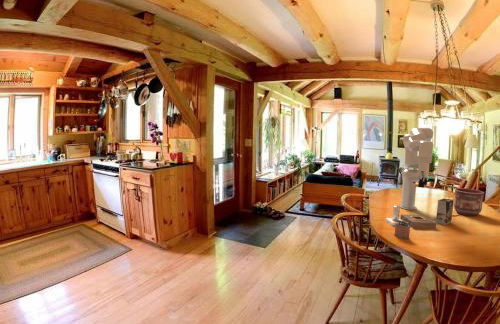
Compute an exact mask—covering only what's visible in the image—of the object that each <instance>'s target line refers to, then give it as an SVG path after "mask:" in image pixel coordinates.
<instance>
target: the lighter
mask: <svg viewBox="0 0 500 324" xmlns="http://www.w3.org/2000/svg"><path fill="white" fill-rule="evenodd" d="M397 222H399V223H395V226H394V237H397V238H399V239H404V238H405V239H406V240H410V230H411V227H410V226H409V225H408V222H405V221H401V220H397ZM400 223H401V224H400ZM405 239H404V240H405Z"/></svg>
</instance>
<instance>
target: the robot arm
mask: <svg viewBox="0 0 500 324" xmlns="http://www.w3.org/2000/svg"><path fill="white" fill-rule="evenodd" d="M433 136H434V130H433V128H431V127H415V128H411V130H410V131H409V133H407V134H404V135H403V138H402V143H403V146H404V151H405V154H404V155H405V156H404V164H405V167H406V168H409V169H404V170H403V171H402V174H401V176H402V186H401V187H402V188H401V189H402V190H401V201H400V204H399V205H398V206H400V209H403V210H410V211H415V210H417V209H418V207H417V206H415V204H416V203H415V202H416V194H417V192H416V190H417V187H418V188H425V186H427V185H428V177H429V172H430V164H432V160H433V149H434V143H433V141H431V140H432V139H433ZM414 182H415V183H416V182H418V183H417V186H416V185H415V183H414Z"/></svg>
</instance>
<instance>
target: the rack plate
mask: <svg viewBox="0 0 500 324" xmlns="http://www.w3.org/2000/svg"><path fill="white" fill-rule="evenodd" d="M399 219H401V220H402V221H405V222H408V226H410V228H411V229H437V225H438V223H436V220H432V219H431V218H429V217H427V216H426V215H424V214H407V213H406V214H404V213H403V214H401V213H400V217H399Z"/></svg>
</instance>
